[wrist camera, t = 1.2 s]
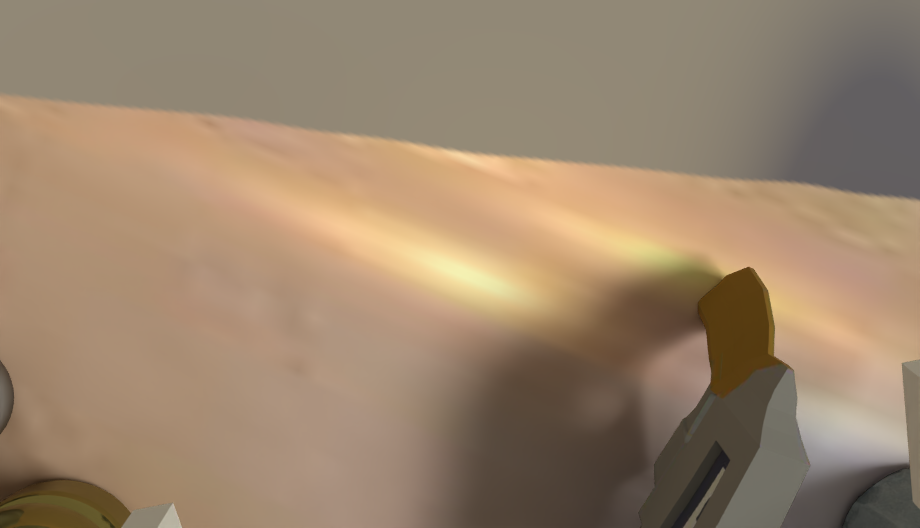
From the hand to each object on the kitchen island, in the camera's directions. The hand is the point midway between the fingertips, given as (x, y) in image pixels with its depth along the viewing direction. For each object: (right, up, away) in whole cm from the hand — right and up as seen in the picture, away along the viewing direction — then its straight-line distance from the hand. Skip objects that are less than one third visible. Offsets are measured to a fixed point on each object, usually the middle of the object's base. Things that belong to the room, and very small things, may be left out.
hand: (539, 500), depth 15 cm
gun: (+7, -9, +26) cm, 28 cm away
